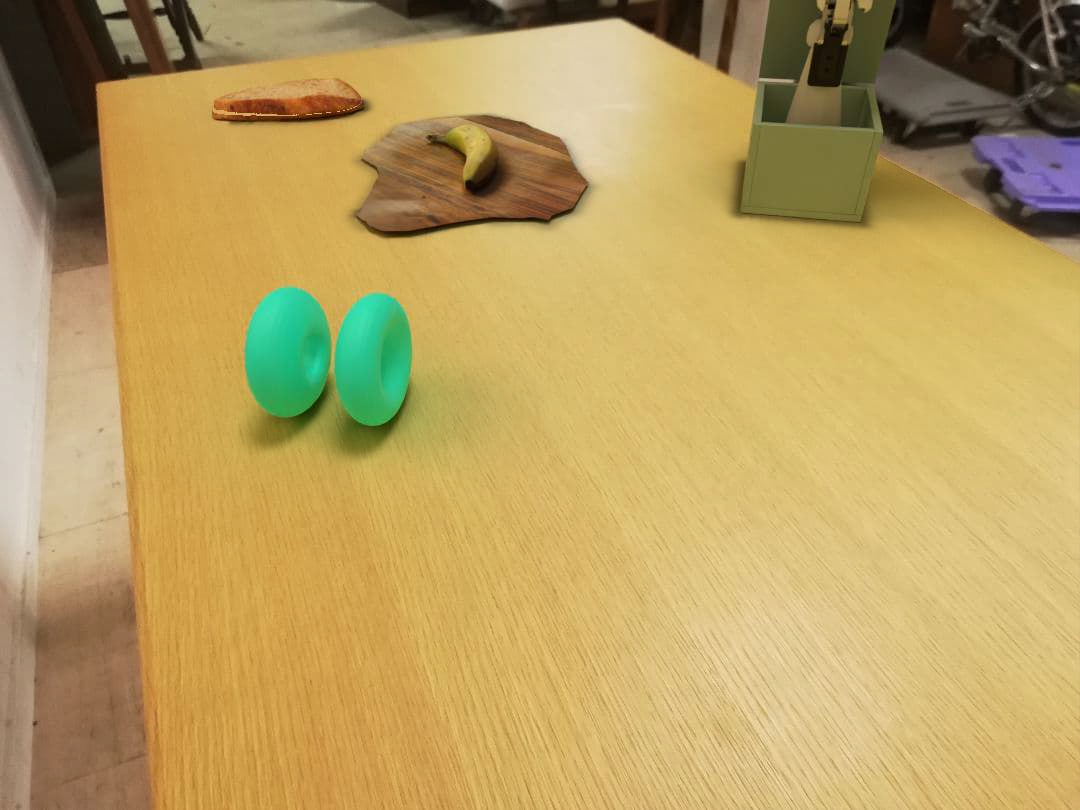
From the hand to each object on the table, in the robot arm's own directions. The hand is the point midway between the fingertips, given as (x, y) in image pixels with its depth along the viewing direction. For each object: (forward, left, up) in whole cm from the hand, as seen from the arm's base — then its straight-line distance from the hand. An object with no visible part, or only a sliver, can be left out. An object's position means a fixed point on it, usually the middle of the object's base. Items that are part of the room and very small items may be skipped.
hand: (822, 75), depth 81 cm
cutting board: (+38, -14, -13) cm, 42 cm away
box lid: (-2, -6, +4) cm, 8 cm away
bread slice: (+63, -39, -13) cm, 75 cm away
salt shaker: (0, 0, -8) cm, 8 cm away
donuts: (+49, +31, -13) cm, 59 cm away
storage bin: (0, -1, -13) cm, 13 cm away
